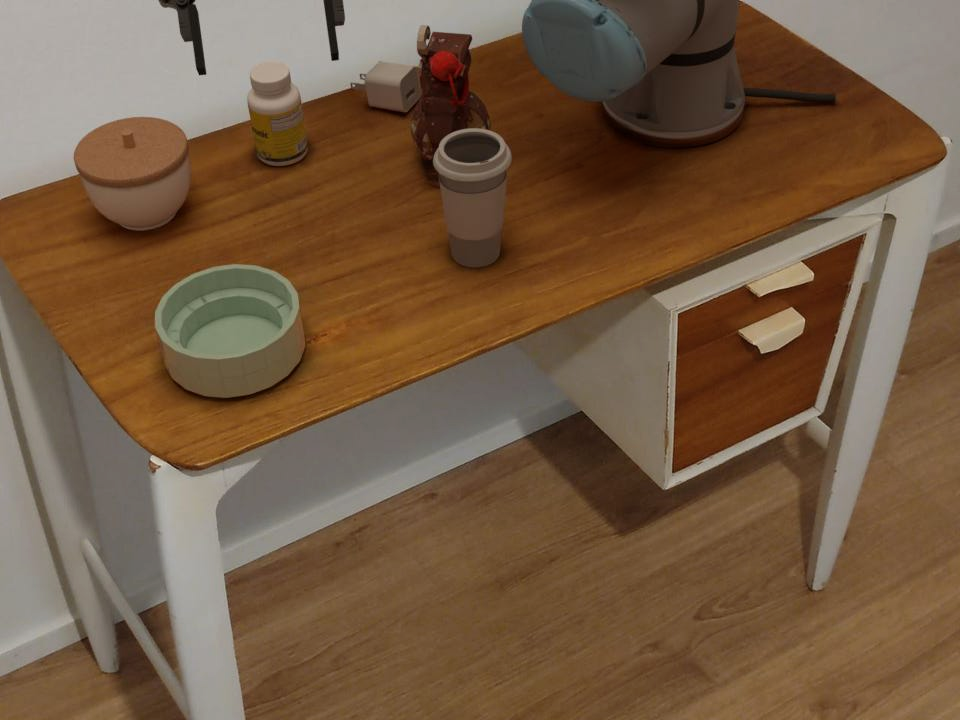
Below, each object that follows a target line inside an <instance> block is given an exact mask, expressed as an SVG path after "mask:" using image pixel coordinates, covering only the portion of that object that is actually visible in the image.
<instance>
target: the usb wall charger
mask: <svg viewBox="0 0 960 720" xmlns="http://www.w3.org/2000/svg"><path fill="white" fill-rule="evenodd" d="M363 77H364V78H363ZM359 79H360V80H363V81H364V83H359V82H350V83H349V84H350V88H351V89H353V90H357V91H362V92H366V96H367V103H368V106H369V107H370V108H376V109H377V108H378V109H384V110H389V111H395V112H401V113H408V111H410V109H411V108H412V107H414V105H415V104H417V103H418V102H419V101H420V99H421V94H422V93H421V84H420V77H419V74H418V67H417V66H414V65H409V64H401V63H395V62H387V61H383V60H382V61H380V60H379V61H378V62H377V63H376V64H375V65H374V66H373V67H372V68H371V69H370V70H369V71H367V73H359ZM353 85H354V86H353Z"/></svg>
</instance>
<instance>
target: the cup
mask: <svg viewBox="0 0 960 720" xmlns="http://www.w3.org/2000/svg"><path fill="white" fill-rule="evenodd" d="M512 160H513V155H512V151H511V149H510V147H509V146H508V144H507V143H506V141H505V140H504V138H503V137H502V136H501V135H500V134H499V133H496V132H495V131H492V130H491V129H490V130H486V129H479V128H470V129H462V130H458V131H455V132H453V133H451V134H449V135H447V136H446V137H444V138H443V139H442V140H441V142H440V144H439V148H438V149H437V151H436V152H435V154H434V158H433V165H434V167H435V169H436V170H437V171H438V172H439V182H440V187H439V188H440V196H441V201H442V209H443V215H444V222H445V228H446V230H447V234H448V239H449V240H448V242H449V247H450V253H451V258H452V259H453V260H454V262H456V263H457V264H459V265H460V266H463V267H466V268H475V269H476V268H483V267H486V266H490V265H492V264H493V263H494V262H496V261H497V259H499V257H500V254H501V242H502V228H503V226H504V219H505V206H506V193H507V181H508V171H507V169H508V168H509V167H510V165H511V163H512V162H513V161H512Z"/></svg>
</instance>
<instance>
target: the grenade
mask: <svg viewBox="0 0 960 720" xmlns="http://www.w3.org/2000/svg"><path fill="white" fill-rule="evenodd" d="M427 40H428V43H427ZM472 41H473V36H472V34H469V33H458V32H457V33H456V32H442V31H431V27H430V25H424V24H421V25H420V26H419V28H418V31H417V37H416V53H417V55H418V56H419V57H420V58H421V59H419V63H418V66H417V71H418V75H420V76H419V84H420V90H422V95H421V97H420V98H419V100H418V101H417V102H416V105H415V107H414V109H413V111H412V115H411V118H410V134H411V138H412V141H413V145H414V147H415V149H416V150H417V151H418V153H419V154H420V156H421V157H422V163H421V164H422V165H421V167H422V171H423V174H424V176H425V178H426V180H427V181H428V183H429V184H430V185H431V186H432V187H436V188H440V182H439V172H438V171H437V170H436V169H435V167H434V165H433V158H434V154H435V152H436V151H437V149H438V148H439V144H440V142H441V140H442V139H443V138H444V137H446V136H447V135H449V134H451V133H453V132H455V131H458V130H462V129H470V128H479V129H486V130H490V131H491V126H492V125H491V124H492V123H491V117H490V115H489V112H488V109H487V107H486V105H485V103H484V101H482V99H481V98H479V96H478V95H477V94H476V93H475V92H473V91H471V90H470V89H469V88H470V78H469V77H470V76H469V72H470V68H471V63H472V55H471V52H470V45H471V44H472Z"/></svg>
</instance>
